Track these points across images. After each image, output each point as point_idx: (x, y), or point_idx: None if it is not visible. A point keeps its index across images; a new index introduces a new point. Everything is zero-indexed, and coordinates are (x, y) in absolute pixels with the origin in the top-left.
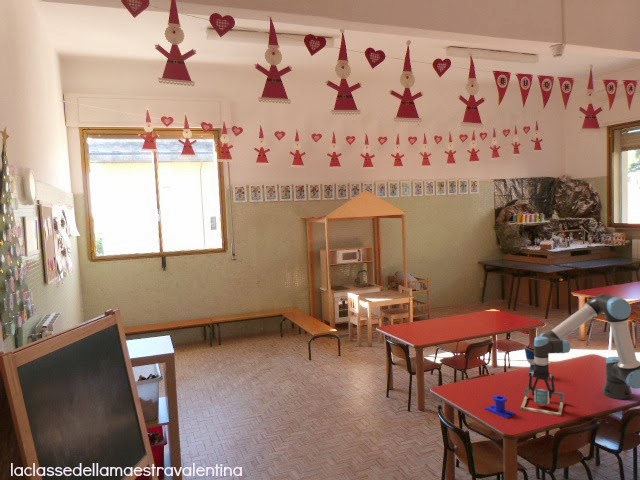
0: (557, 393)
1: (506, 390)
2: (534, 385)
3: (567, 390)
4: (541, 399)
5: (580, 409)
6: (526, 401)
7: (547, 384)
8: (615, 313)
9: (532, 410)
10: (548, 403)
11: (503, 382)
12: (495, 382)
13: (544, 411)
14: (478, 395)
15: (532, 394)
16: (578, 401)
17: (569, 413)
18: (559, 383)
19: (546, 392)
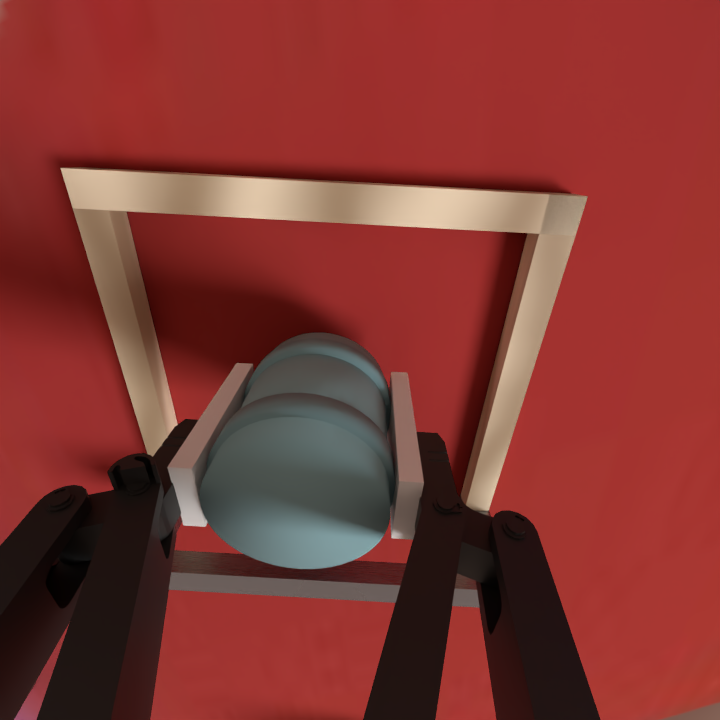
0: (173, 566)
1: (620, 579)
2: (431, 598)
3: (212, 653)
4: (308, 365)
5: (9, 420)
6: (479, 429)
7: (78, 669)
8: None
9: (424, 186)
10: (239, 366)
11: (609, 666)
12: (669, 658)
13: (269, 179)
14: None
15: (441, 444)
16: None
17: (41, 293)
18: (274, 704)
19: (205, 475)
